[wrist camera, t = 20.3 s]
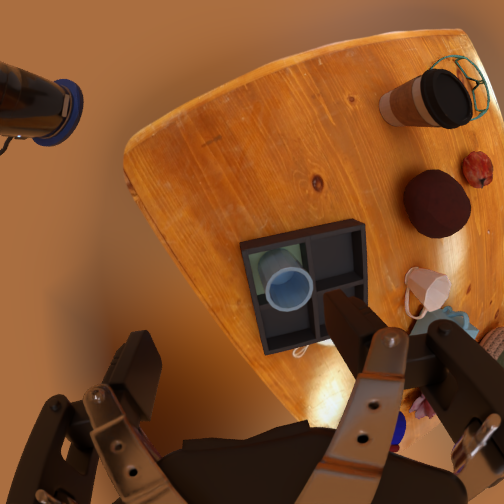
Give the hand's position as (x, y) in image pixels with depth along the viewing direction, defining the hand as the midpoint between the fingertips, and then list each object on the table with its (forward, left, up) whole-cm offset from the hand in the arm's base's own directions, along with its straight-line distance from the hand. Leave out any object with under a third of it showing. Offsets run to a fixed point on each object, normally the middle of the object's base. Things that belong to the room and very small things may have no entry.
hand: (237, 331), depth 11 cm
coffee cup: (+30, +13, -28) cm, 43 cm away
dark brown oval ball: (+33, -3, -28) cm, 44 cm away
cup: (+31, -19, -28) cm, 46 cm away
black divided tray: (+10, -13, -28) cm, 33 cm away
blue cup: (+6, -9, -27) cm, 29 cm away
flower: (+43, -57, -28) cm, 77 cm away
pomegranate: (+49, +2, -28) cm, 57 cm away
